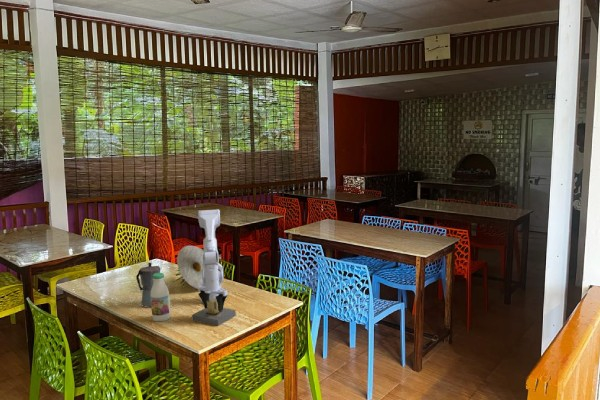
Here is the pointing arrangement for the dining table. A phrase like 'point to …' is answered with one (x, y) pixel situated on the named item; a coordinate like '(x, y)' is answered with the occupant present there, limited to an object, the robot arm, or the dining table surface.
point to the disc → (190, 265)
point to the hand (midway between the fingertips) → (213, 309)
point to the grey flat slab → (214, 320)
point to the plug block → (212, 307)
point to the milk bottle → (160, 299)
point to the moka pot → (147, 282)
